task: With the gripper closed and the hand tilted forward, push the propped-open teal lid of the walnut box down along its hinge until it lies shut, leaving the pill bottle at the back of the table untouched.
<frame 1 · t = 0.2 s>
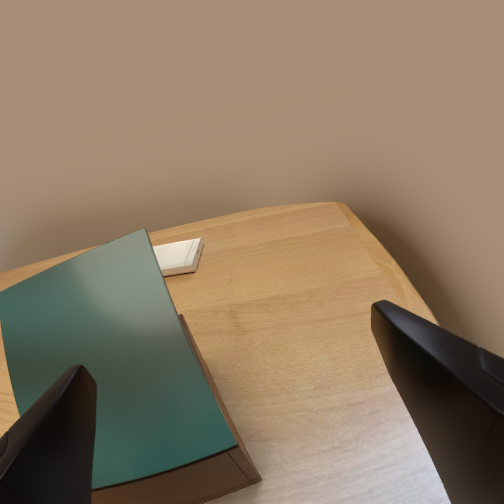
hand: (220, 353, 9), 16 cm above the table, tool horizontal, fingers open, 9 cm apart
hard drive: (163, 264, 49), on the table
box: (162, 440, 22), on the table
lid: (89, 365, 16), point 11 cm above the table, hinge at 35.0°
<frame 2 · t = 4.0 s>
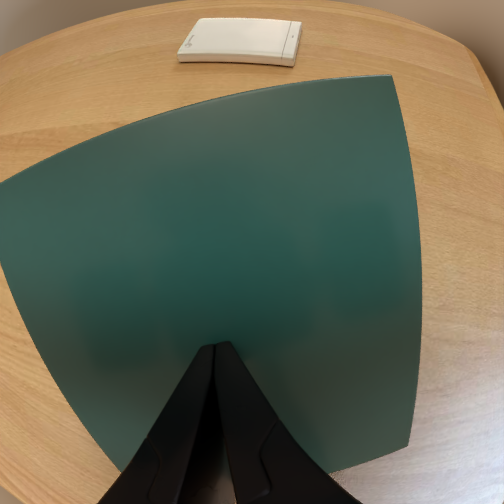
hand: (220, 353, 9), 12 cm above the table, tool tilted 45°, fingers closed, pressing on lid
hard drive: (242, 44, 30), on the table
lid: (226, 362, 9), point 11 cm above the table, hinge at 33.9°, touching gripper
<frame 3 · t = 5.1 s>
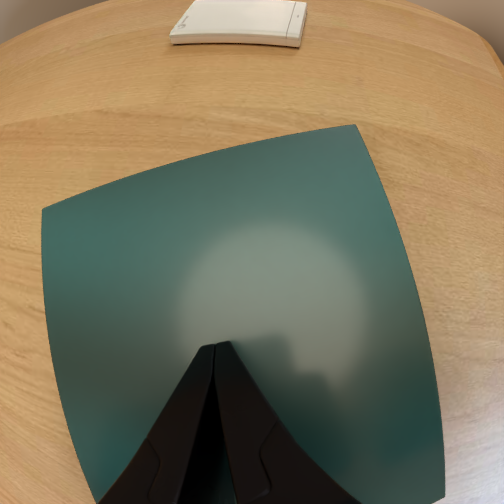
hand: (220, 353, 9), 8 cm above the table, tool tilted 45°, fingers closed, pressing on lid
hard drive: (242, 25, 26), on the table
lid: (228, 373, 9), point 8 cm above the table, hinge at 3.7°, touching gripper
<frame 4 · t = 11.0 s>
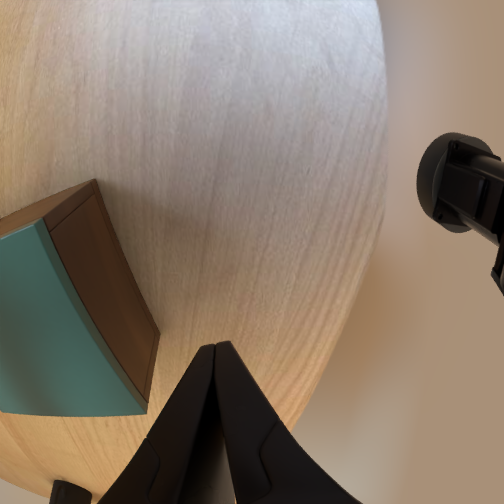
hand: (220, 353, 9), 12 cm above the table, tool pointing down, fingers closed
box: (54, 284, 20), on the table
mug: (70, 484, 39), on the table
lid: (8, 348, 14), point 7 cm above the table, hinge at -0.2°, touching box
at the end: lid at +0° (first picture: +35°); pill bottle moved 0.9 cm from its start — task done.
